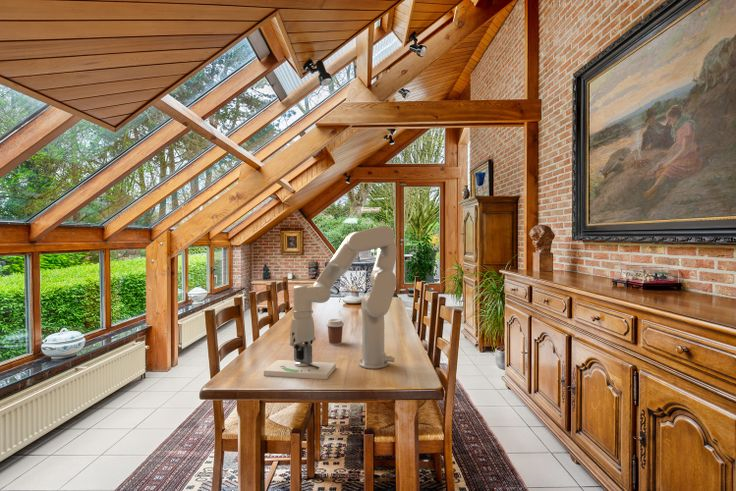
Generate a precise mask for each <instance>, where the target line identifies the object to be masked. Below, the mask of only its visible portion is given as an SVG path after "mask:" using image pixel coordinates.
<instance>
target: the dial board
mask: <svg viewBox="0 0 736 491" xmlns="http://www.w3.org/2000/svg"><path fill="white" fill-rule="evenodd" d="M311 365H315V366H318V367H319V368H315V367H312V366H304V367H299V366H295V361H294V360H287V359H277V360H275V361H274V362H272V364H270V365H269V366H267V368H265V369H264V370H263V376H267V377H281V378H284V377H285V378H297V379H298V378H299V379H301V378H302V379H311V380H312V379H313V380H314V379H316V380H327V379H328V378H330V376H331V375H332V373H333V372H334V370H335V369H336V367H337V364H336V362H326V361H325V362H324V361H312V364H311Z"/></svg>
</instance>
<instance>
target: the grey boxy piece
mask: <svg viewBox="0 0 736 491" xmlns="http://www.w3.org/2000/svg"><path fill="white" fill-rule="evenodd" d="M298 346H299V344H298ZM301 350H302V351H303V359H302V360H299V359H297V358H296V350H295V348H294V347H293V361H295V366H299V367H304V366H312V367H315V368H319V367H318V366H315V365H311V364H312V362H313V345H312V344H311V345H307V344H304V342H303V343H302V348H301Z"/></svg>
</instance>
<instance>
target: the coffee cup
mask: <svg viewBox="0 0 736 491" xmlns="http://www.w3.org/2000/svg"><path fill="white" fill-rule="evenodd" d="M325 324H326V327H327V333H328V334H327V335H328V345H330V346H340V345H341V344H342V342H343V340H342V339H343V326H345V323H344V322H343V320H342V319H340V318H332V319H331V318H330V319H329V320H328V322H327V323H325Z"/></svg>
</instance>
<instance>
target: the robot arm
mask: <svg viewBox="0 0 736 491" xmlns="http://www.w3.org/2000/svg"><path fill="white" fill-rule="evenodd" d="M375 249H376V256H375V261H374V264H373V268H372V270H371V273H370V277H369V281H370V284H371V285H372V286H371V290H370V291H367V292H365V294H364V295H363V296H362V298H361V304H360V305H361V317H362V322H361V324H362V325H361V326H362V328H361V330H362V332H361V333H362V334H361V335H362V339H361V340H362V344H361V345H362V349H361V350H362V356H361V357H362V359H360V360H359V361H358V365H359V366H360V367H361V368H365V369H370V370H371V369H383V368H385V367H387V366H388V365H389V362H391V363H395V359H396V358H395V357H393V356H391V355H387V353H386V352H385V316H386V314H388V312H389V310H390V308H391V304H392V302H393V297H394V294H395V291H396V288H397V276H396V274H395V273H394V268H395V266H396V265H395V264H396V260H397V255H398V252H397V250H398V249H397V246H396V242H395V231H394V229H393V228H392V227H390V226H389V225H385V224H384V225H376V226H375V227H372V228H368V229H363V230H358V231H352V232H349V233H348V234H347V235H346V237H345V238H344V240H343V241H342V242H341V244H340V245H339V247H338V249H337V250H336V251H335V253H334V255H333V256H332V258H331V259H330V261H329V262H328V263H327V264H326V266H325V267H324V269H323V270H322V272H321V273H320V274H319V276H318V277H317V279H316V280H315V282H314V283H313V285H309V284H297V285H294V286H293V292H292V293H293V294H292V295H293V298H292V299H293V317H292V318H291V322H290V327H289V329H290V330H289V342H290V343H289V346H290V347H292V348H293V349H294V348H295V350H296V358H297V359H299V360H302V359H303V351H302V350H301V348H302V343H303V344H307V345H311V346H312V344H313V343H314V342H315V340H316V336H315V334H316V333H315V323H314V322H315V320H314V317H313V315H312V314H313V313H314V310H313V308H312V305H313V304H312V303H315V304H316V303H317V304H323V303H326V302H328V301H329V300H330V299H331V294H332V293H331V289H332V288H333V286H334V285H335V283H337V281H338V279H339V278H341V277H342V276H343V275H345V274H346V273H347V272H348V271H349V270H350V268H351V267H352V265H353V264H354V261H355V260H356V258H357V257H358V256H359V254H360V253H362V252H363V253H364V252H367V251H368V252H369V251H371V250H375ZM298 344H299V346H298Z"/></svg>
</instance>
